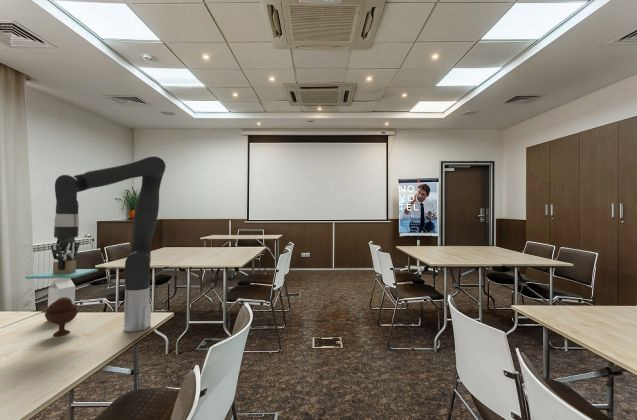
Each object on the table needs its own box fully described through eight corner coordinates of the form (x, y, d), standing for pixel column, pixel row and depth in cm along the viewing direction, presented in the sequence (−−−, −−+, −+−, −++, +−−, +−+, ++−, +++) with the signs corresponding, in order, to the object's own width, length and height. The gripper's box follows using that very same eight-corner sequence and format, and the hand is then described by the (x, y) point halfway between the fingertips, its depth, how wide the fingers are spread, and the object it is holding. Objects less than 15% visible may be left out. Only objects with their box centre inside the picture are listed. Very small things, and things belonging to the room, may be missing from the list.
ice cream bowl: (85, 329, 132) (86, 294, 133) (61, 339, 121) (62, 301, 122) (62, 328, 133) (63, 293, 134) (36, 338, 122) (37, 299, 123)
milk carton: (74, 317, 148) (75, 277, 148) (57, 322, 141) (59, 280, 142) (64, 315, 150) (65, 276, 151) (47, 320, 143) (48, 278, 144)
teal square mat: (97, 270, 132) (98, 258, 132) (73, 278, 116) (74, 263, 116) (56, 271, 130) (56, 258, 130) (25, 278, 114) (26, 264, 114)
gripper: (65, 226, 117) (63, 272, 117) (87, 225, 131) (86, 266, 131) (43, 225, 116) (41, 272, 116) (67, 225, 130) (66, 266, 130)
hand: (65, 268), depth 123 cm, fingers closed on teal square mat, 3 cm apart
